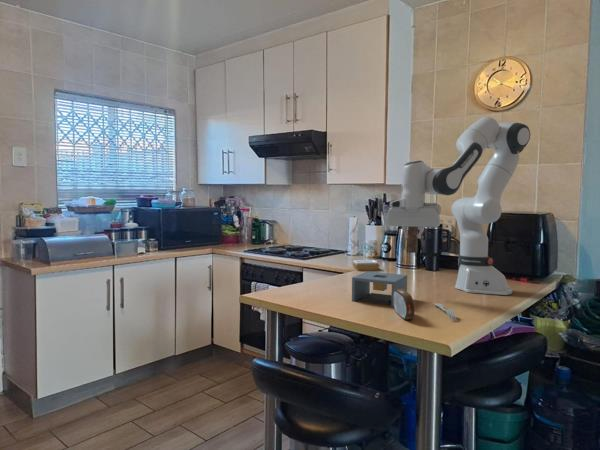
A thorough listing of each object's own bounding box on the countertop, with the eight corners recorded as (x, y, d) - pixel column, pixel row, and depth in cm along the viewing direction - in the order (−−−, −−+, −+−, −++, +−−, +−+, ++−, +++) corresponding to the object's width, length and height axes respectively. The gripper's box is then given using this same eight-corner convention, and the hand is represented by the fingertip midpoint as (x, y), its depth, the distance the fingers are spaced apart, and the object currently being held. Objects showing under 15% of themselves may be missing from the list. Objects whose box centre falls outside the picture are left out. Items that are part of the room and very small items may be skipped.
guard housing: (406, 298, 172) (407, 275, 171) (394, 307, 158) (394, 281, 157) (367, 293, 180) (367, 271, 179) (351, 301, 166) (352, 277, 165)
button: (386, 289, 169) (387, 281, 169) (383, 291, 166) (383, 282, 166) (376, 287, 171) (376, 280, 171) (373, 289, 168) (373, 281, 168)
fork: (440, 310, 161) (440, 302, 161) (458, 321, 140) (458, 312, 140) (432, 310, 161) (432, 302, 161) (449, 321, 140) (449, 312, 140)
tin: (414, 322, 139) (415, 296, 138) (405, 323, 139) (405, 296, 138) (400, 310, 154) (400, 286, 153) (391, 310, 154) (391, 286, 153)
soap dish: (374, 268, 242) (374, 259, 242) (379, 271, 233) (379, 262, 232) (351, 269, 241) (352, 259, 241) (356, 272, 231) (356, 262, 231)
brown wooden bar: (417, 251, 177) (418, 216, 176) (415, 252, 174) (416, 216, 173) (410, 251, 178) (410, 216, 177) (407, 252, 175) (408, 216, 174)
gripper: (442, 202, 172) (441, 238, 173) (390, 202, 182) (390, 236, 183) (438, 203, 167) (438, 240, 168) (385, 202, 177) (385, 237, 178)
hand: (412, 238), depth 176 cm, fingers closed on brown wooden bar, 3 cm apart
